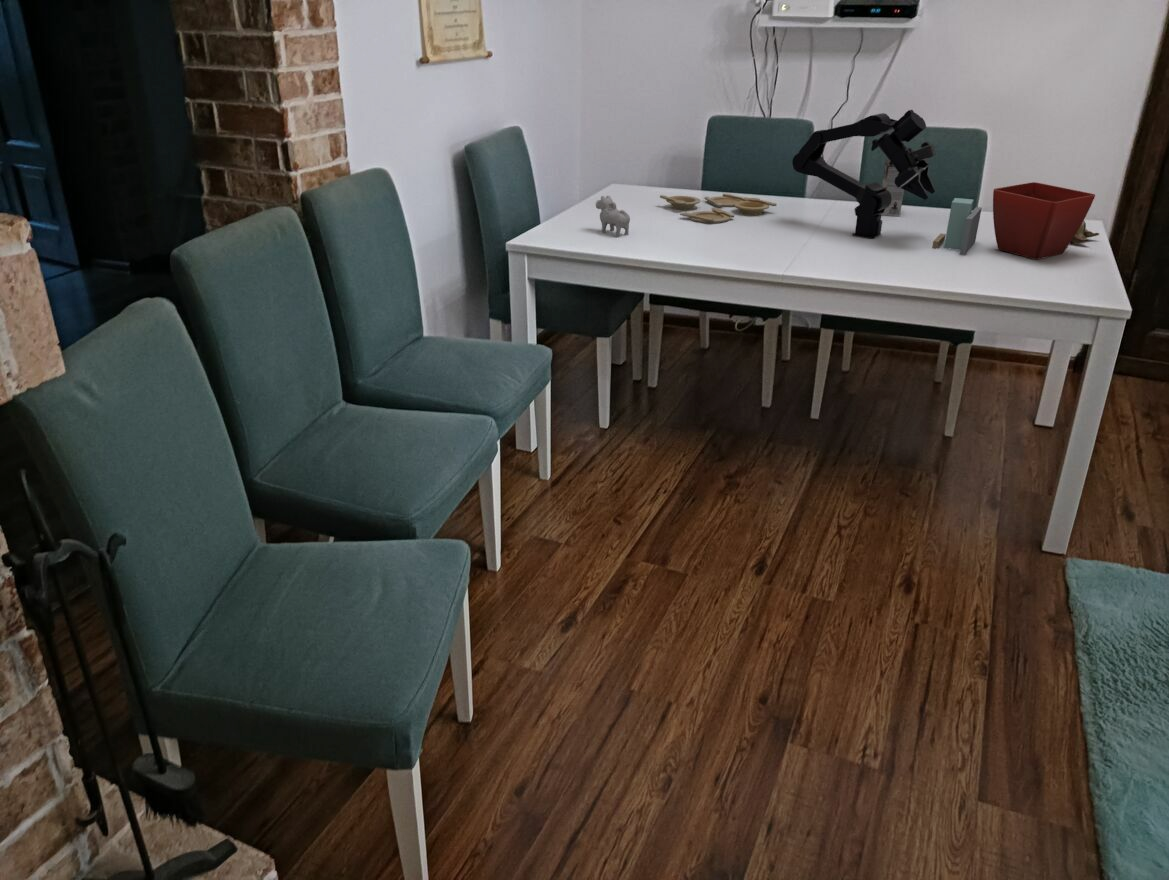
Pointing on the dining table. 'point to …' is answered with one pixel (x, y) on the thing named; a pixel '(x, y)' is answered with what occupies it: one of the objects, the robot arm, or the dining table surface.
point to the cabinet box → (957, 222)
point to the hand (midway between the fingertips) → (930, 195)
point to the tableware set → (717, 215)
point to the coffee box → (892, 191)
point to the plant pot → (1038, 218)
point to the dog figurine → (612, 216)
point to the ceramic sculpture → (1083, 234)
